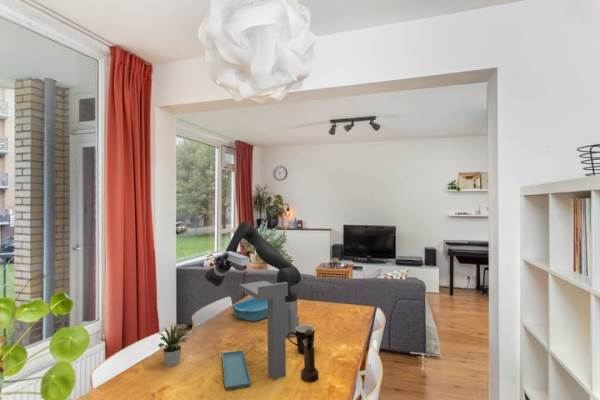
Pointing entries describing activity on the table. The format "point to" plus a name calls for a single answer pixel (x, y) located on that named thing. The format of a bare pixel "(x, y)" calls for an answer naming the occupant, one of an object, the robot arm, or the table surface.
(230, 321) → the table surface
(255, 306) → the casserole dish
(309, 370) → the mortar and pestle
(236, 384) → the teal serving tray
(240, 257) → the grey rectangular box
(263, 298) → the grey gallows post
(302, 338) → the coffee mug
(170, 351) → the house plant
